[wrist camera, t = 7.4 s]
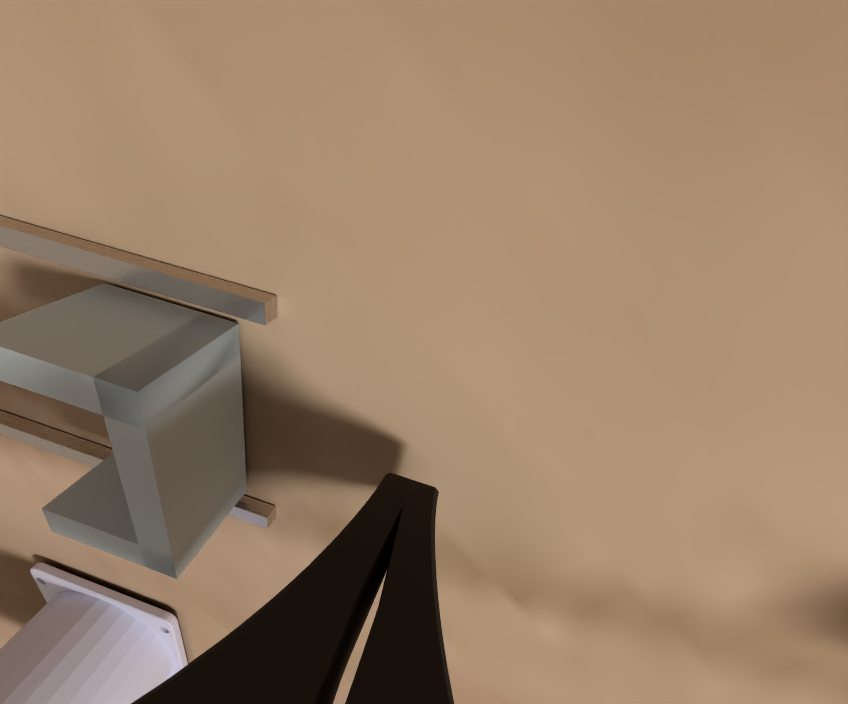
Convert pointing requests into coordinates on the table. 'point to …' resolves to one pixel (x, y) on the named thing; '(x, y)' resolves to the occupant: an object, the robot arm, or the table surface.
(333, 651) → the robot arm
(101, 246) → the track
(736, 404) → the table surface
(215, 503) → the cap
